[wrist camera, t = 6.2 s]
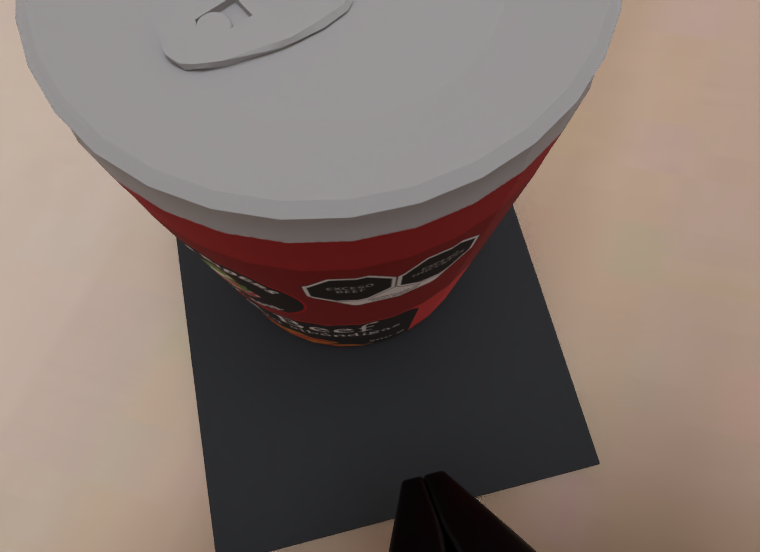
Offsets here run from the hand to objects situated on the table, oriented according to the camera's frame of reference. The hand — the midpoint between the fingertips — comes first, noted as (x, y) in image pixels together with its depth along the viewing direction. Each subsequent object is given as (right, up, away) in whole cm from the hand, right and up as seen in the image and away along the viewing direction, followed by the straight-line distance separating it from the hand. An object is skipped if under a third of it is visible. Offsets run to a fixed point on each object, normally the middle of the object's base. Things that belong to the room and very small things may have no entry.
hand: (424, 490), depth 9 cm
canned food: (-2, +5, +8) cm, 10 cm away
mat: (-1, +3, +7) cm, 8 cm away
